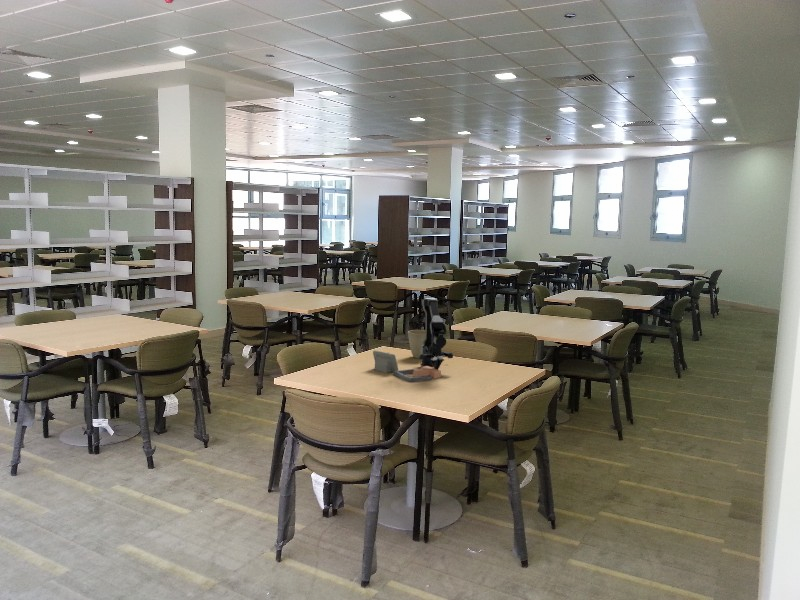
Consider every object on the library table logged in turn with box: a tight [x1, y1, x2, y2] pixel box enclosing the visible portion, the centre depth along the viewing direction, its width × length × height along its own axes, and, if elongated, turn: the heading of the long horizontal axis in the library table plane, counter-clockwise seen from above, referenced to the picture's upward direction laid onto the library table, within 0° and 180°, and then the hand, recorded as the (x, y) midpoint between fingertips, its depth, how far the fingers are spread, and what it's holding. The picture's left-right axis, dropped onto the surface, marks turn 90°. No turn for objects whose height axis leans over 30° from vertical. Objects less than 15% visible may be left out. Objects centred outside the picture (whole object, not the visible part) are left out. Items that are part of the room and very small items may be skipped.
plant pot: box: [407, 329, 426, 359], centre depth 393 cm, size 15×15×16 cm
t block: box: [412, 366, 442, 379], centre depth 346 cm, size 12×13×4 cm
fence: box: [392, 368, 432, 383], centre depth 342 cm, size 13×18×2 cm
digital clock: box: [372, 350, 399, 374], centre depth 356 cm, size 16×9×11 cm, turn 38°
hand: (435, 371), depth 350 cm, fingers closed
